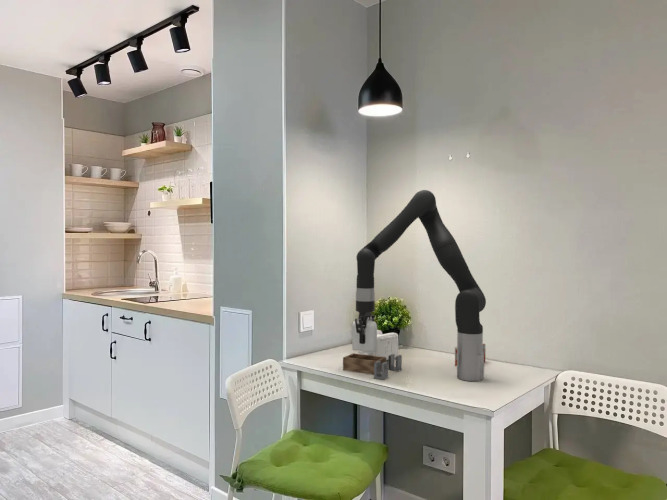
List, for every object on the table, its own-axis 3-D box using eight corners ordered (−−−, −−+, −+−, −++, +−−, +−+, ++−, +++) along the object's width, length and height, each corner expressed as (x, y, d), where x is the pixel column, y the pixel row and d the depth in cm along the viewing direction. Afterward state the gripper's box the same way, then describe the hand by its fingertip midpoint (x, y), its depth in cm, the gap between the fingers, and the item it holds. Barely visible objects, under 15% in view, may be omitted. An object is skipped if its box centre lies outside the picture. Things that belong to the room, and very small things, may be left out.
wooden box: (386, 369, 211) (386, 357, 211) (376, 374, 203) (377, 361, 203) (352, 365, 218) (353, 353, 217) (342, 370, 210) (343, 357, 210)
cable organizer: (380, 354, 238) (380, 329, 238) (399, 358, 230) (399, 332, 230) (357, 360, 227) (358, 333, 227) (376, 364, 220) (376, 336, 220)
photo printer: (350, 350, 210) (350, 319, 210) (354, 348, 214) (355, 317, 214) (374, 353, 206) (374, 321, 206) (378, 351, 210) (378, 319, 209)
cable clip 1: (388, 377, 199) (388, 362, 199) (383, 379, 195) (384, 364, 195) (378, 376, 201) (378, 360, 201) (373, 378, 197) (374, 362, 197)
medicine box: (467, 359, 230) (467, 341, 230) (485, 362, 226) (486, 343, 226) (454, 366, 218) (454, 346, 218) (473, 369, 213) (473, 349, 213)
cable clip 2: (401, 369, 211) (401, 354, 211) (397, 371, 208) (397, 356, 208) (392, 368, 213) (392, 353, 213) (388, 370, 210) (388, 355, 210)
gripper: (366, 301, 202) (366, 346, 202) (381, 298, 214) (380, 340, 214) (348, 300, 205) (348, 344, 205) (364, 297, 218) (364, 338, 218)
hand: (365, 342), depth 210 cm, fingers closed on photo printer, 4 cm apart
